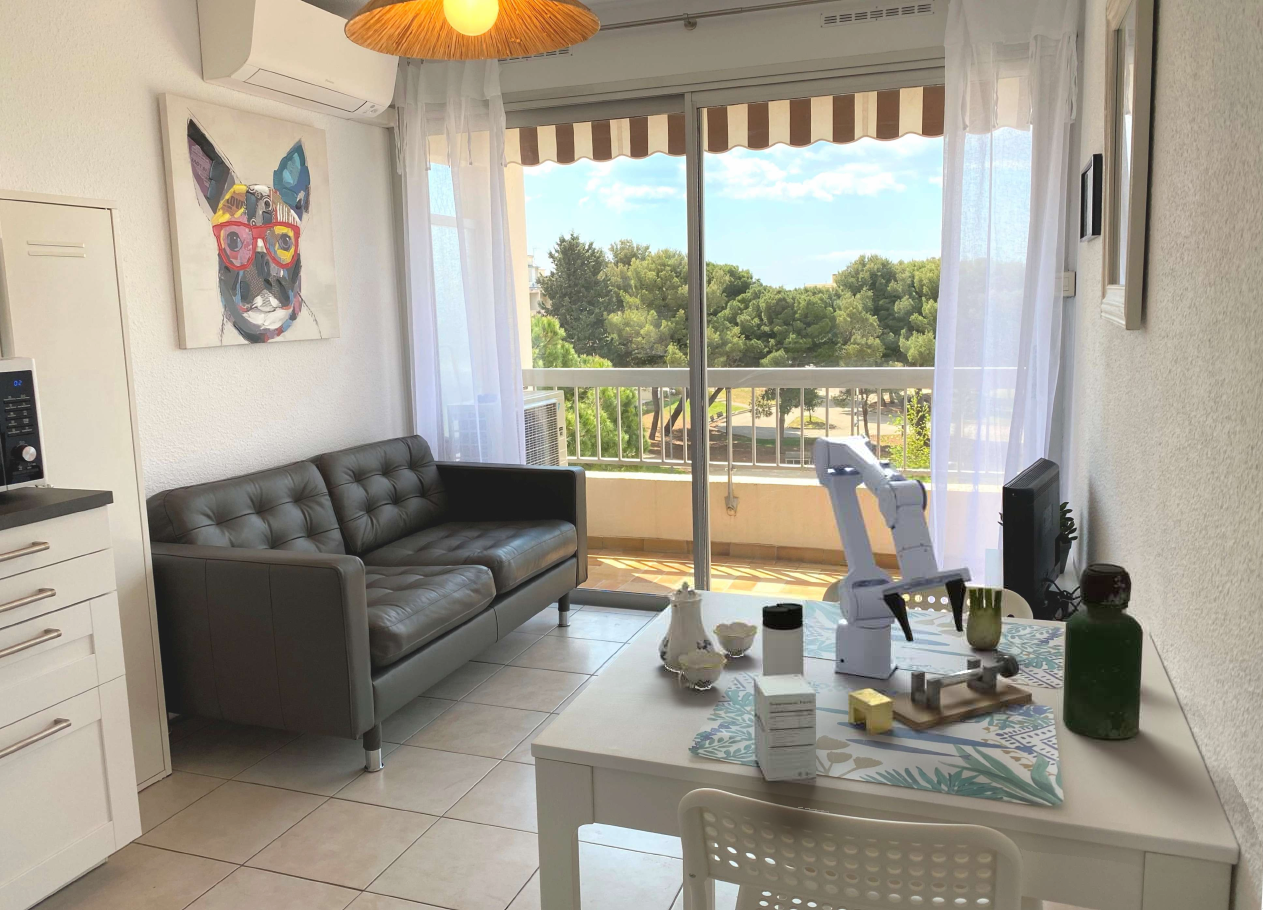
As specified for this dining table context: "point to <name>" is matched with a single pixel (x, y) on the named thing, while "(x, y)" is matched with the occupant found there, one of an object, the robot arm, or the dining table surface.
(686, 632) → the chinaware
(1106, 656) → the green bottle
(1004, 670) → the shaft
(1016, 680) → the dining table surface
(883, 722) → the spacer
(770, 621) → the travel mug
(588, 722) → the dining table surface
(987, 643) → the fennel bulb
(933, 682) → the shaft bracket
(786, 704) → the supplement box
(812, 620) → the dining table surface
